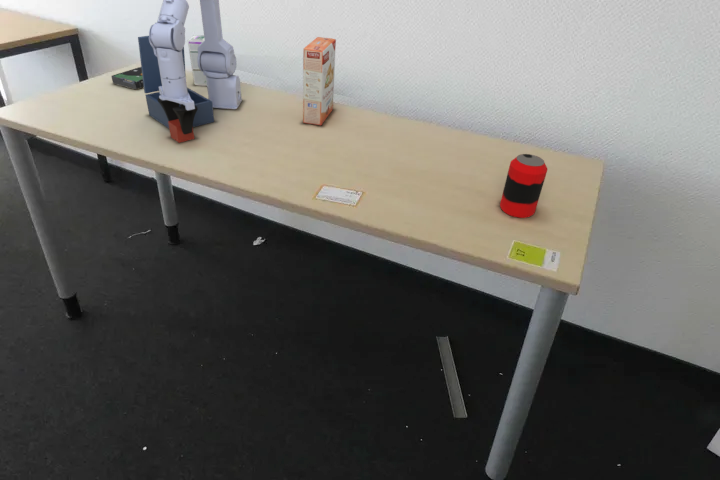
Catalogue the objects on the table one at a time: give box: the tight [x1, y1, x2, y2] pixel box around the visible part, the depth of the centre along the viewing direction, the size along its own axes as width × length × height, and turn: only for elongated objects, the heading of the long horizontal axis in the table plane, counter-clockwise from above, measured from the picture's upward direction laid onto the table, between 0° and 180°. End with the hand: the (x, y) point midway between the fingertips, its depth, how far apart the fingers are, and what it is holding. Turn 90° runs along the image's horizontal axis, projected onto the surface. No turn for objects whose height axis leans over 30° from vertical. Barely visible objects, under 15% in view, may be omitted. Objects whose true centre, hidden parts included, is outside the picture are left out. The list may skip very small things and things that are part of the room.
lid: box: [137, 35, 187, 94], centre depth 139 cm, size 15×12×1 cm
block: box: [168, 119, 195, 144], centre depth 132 cm, size 4×4×4 cm
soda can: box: [499, 153, 548, 219], centre depth 109 cm, size 8×8×12 cm
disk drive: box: [111, 66, 144, 90], centre depth 166 cm, size 10×3×15 cm
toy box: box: [145, 87, 215, 129], centre depth 141 cm, size 15×12×6 cm
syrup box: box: [187, 34, 207, 87], centre depth 164 cm, size 6×6×14 cm
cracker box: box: [302, 36, 337, 126], centre depth 144 cm, size 14×6×21 cm, turn 168°
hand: (181, 128), depth 131 cm, fingers open, 6 cm apart
